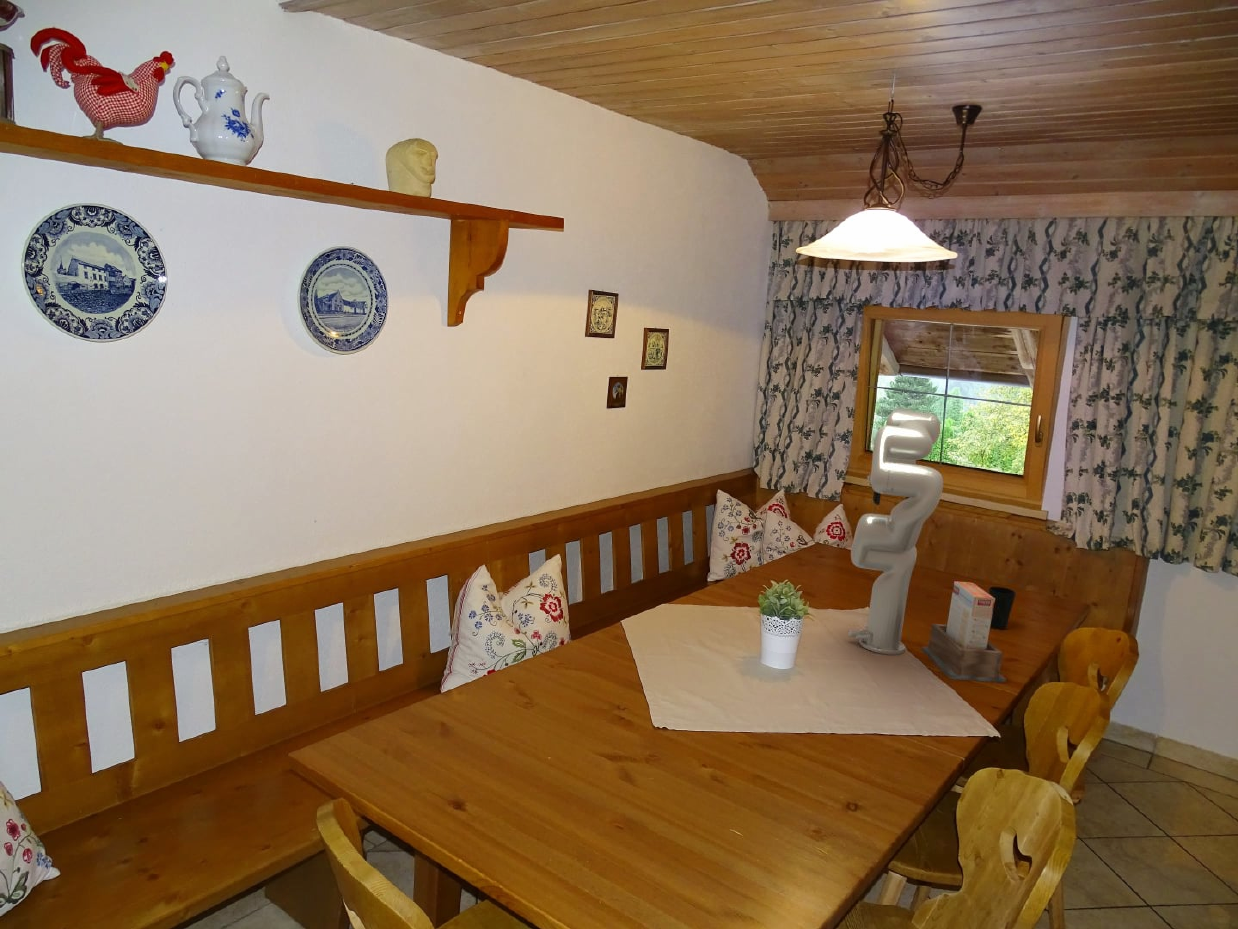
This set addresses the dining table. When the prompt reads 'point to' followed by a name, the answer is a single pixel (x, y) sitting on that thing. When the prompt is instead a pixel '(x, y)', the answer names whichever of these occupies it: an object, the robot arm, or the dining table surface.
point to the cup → (1001, 606)
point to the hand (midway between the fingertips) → (892, 505)
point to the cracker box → (970, 616)
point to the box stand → (963, 658)
